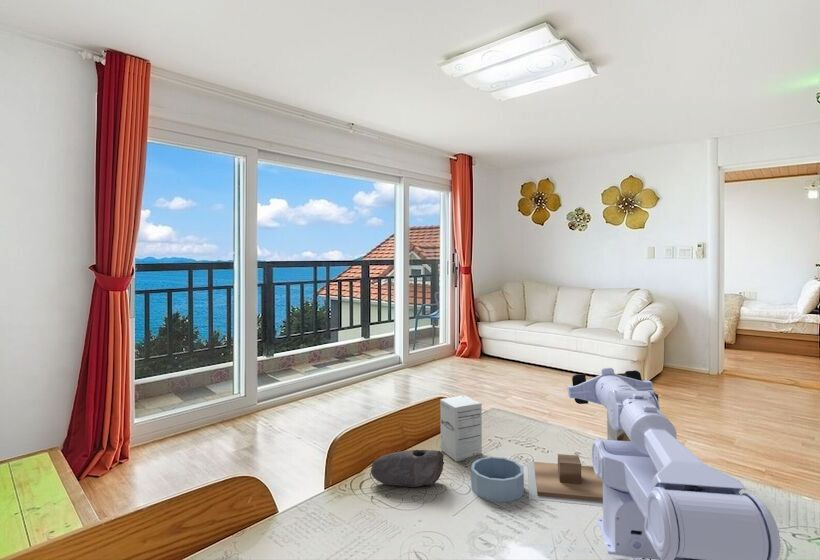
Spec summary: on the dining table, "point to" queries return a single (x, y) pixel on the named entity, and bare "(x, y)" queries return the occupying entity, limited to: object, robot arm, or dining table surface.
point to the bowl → (497, 479)
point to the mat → (534, 496)
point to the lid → (568, 480)
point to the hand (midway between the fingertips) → (599, 380)
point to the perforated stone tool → (409, 468)
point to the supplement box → (461, 427)
